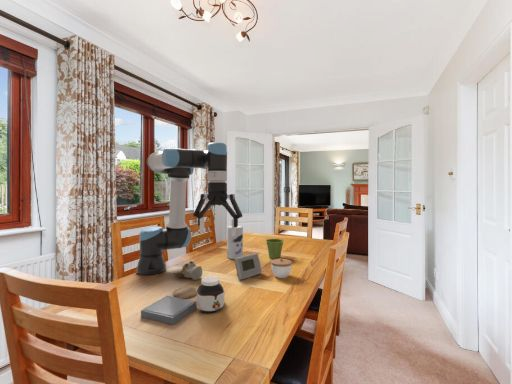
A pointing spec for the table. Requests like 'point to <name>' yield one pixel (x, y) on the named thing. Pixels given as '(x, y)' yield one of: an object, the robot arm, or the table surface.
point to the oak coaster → (185, 292)
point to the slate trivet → (169, 309)
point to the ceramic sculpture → (190, 271)
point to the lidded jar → (281, 267)
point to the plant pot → (274, 248)
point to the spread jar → (210, 295)
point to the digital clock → (247, 266)
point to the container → (234, 242)
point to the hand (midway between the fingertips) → (217, 234)
